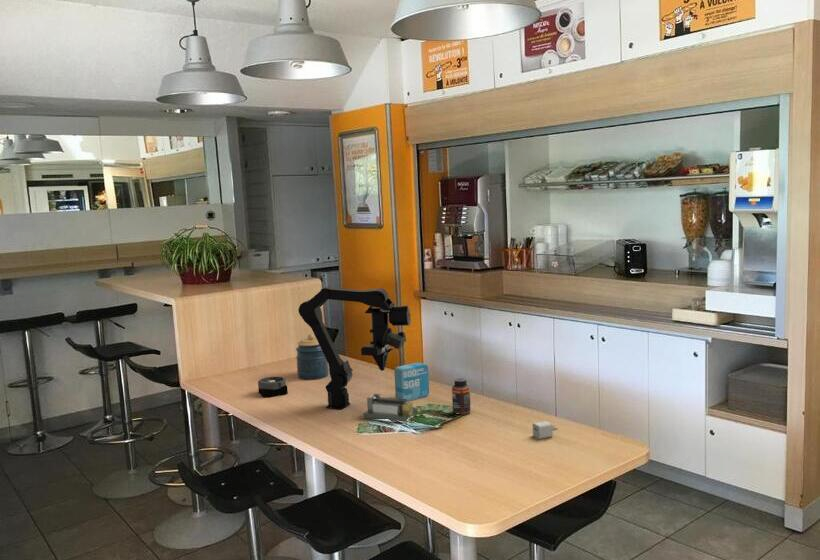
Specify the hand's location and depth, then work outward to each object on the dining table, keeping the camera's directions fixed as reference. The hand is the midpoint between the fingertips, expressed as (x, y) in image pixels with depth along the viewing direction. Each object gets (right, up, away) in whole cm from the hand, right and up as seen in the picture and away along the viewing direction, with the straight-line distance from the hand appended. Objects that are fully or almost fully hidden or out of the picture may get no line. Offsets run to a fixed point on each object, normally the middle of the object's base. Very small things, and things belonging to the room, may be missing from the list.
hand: (382, 370), depth 245 cm
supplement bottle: (+27, -13, -8) cm, 31 cm away
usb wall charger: (+50, -15, -34) cm, 62 cm away
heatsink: (+3, -14, -9) cm, 17 cm away
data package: (+11, -12, +11) cm, 19 cm away
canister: (-30, -9, +49) cm, 58 cm away
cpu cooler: (-42, -12, +25) cm, 51 cm away
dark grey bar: (+2, -9, -10) cm, 14 cm away
